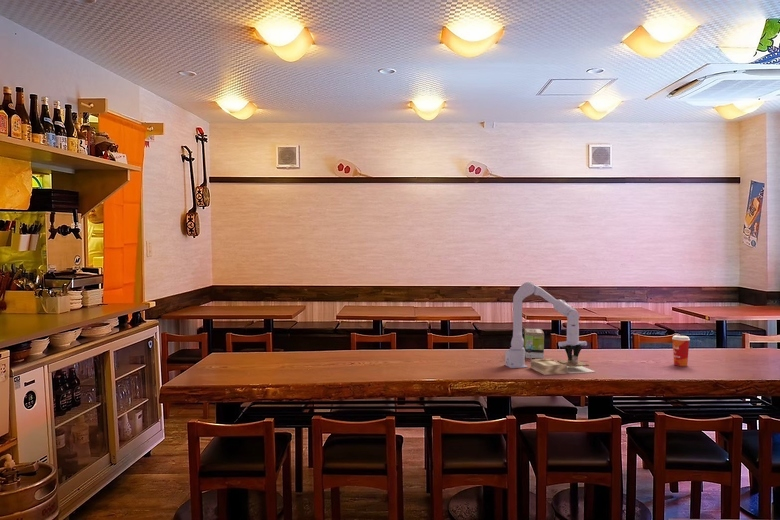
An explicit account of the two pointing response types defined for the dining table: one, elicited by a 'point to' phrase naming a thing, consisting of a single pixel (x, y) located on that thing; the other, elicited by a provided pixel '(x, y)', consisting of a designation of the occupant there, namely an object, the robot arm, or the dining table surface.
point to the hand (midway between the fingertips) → (572, 360)
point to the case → (548, 366)
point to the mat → (578, 370)
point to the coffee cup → (680, 350)
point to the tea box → (534, 343)
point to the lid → (573, 362)
